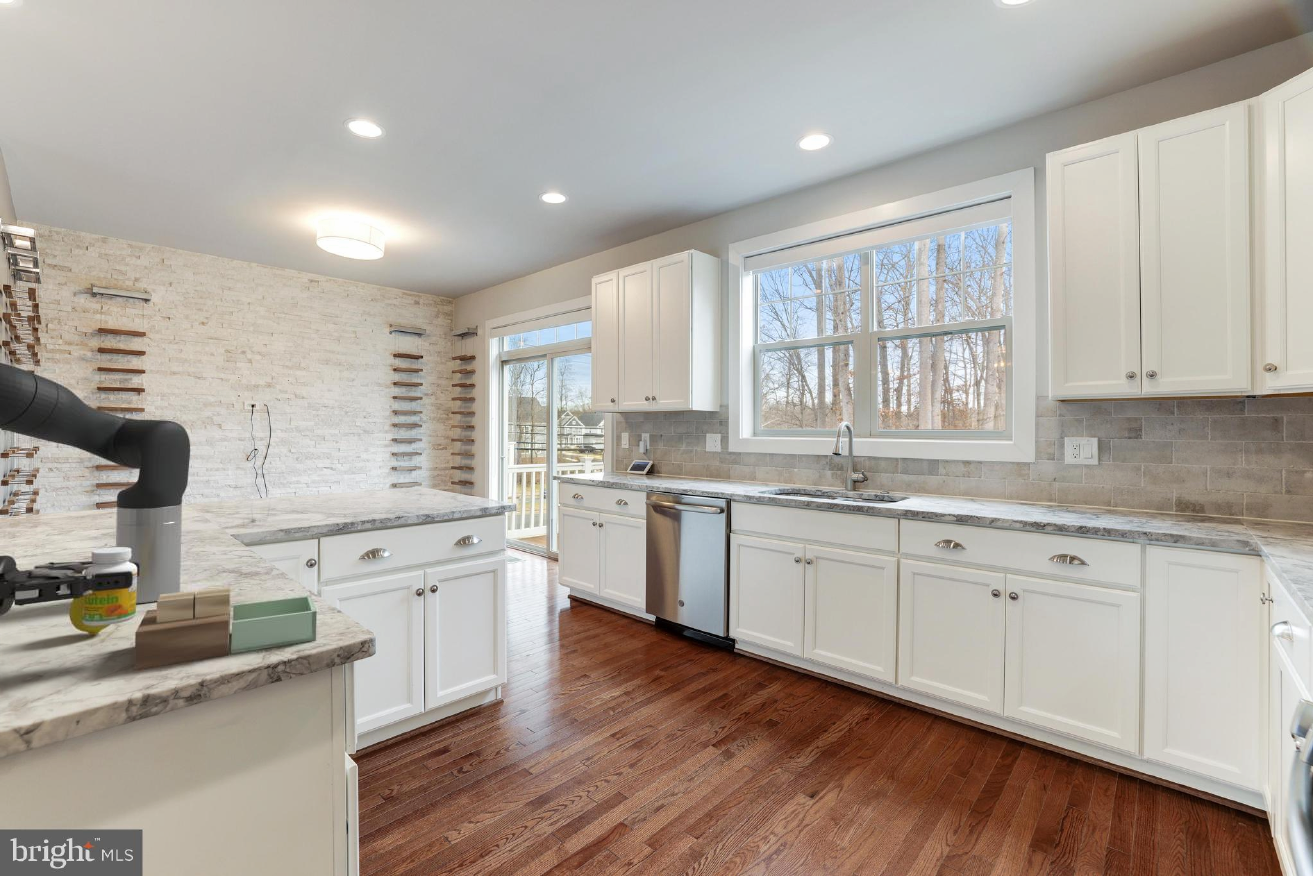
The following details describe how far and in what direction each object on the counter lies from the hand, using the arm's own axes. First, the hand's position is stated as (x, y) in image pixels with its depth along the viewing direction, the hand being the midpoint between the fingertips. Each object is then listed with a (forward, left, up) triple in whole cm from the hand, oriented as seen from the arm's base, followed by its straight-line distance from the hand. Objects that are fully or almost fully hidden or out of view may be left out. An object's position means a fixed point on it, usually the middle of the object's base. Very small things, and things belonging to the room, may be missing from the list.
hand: (135, 574), depth 82 cm
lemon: (-14, -6, -12) cm, 19 cm away
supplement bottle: (0, -3, -6) cm, 7 cm away
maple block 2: (0, +9, -7) cm, 11 cm away
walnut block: (0, +6, -12) cm, 13 cm away
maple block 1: (0, +5, -7) cm, 8 cm away
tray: (0, +16, -12) cm, 20 cm away
